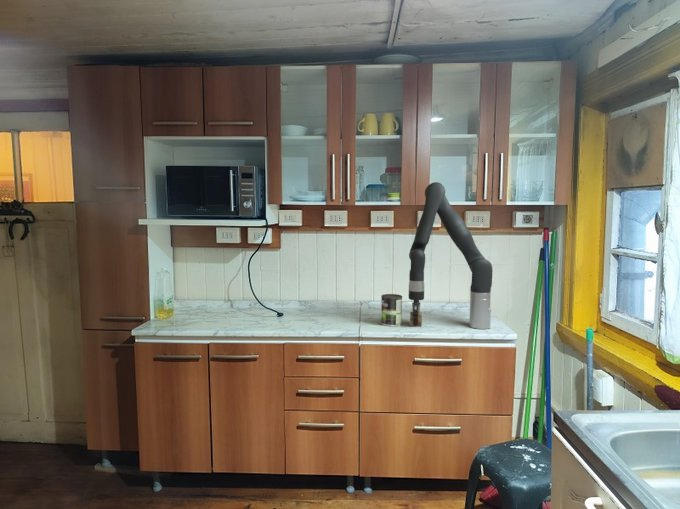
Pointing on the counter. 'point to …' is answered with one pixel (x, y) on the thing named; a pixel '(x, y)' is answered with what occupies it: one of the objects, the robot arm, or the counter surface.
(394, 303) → the coffee can
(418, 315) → the walnut block
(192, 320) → the counter surface
